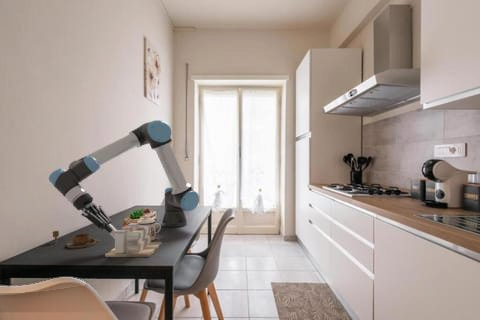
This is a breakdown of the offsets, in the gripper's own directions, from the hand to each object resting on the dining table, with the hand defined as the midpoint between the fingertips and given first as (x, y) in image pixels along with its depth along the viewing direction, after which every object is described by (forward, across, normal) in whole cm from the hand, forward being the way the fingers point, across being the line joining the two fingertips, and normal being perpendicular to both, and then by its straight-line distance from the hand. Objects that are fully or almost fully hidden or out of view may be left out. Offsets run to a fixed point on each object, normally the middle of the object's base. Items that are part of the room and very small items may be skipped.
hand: (117, 236), depth 121 cm
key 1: (+6, +6, 0) cm, 9 cm away
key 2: (+6, -7, 0) cm, 9 cm away
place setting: (-12, -11, -22) cm, 27 cm away
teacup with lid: (+10, -18, +1) cm, 21 cm away
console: (+10, 0, +1) cm, 10 cm away
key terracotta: (+6, 0, 0) cm, 6 cm away
